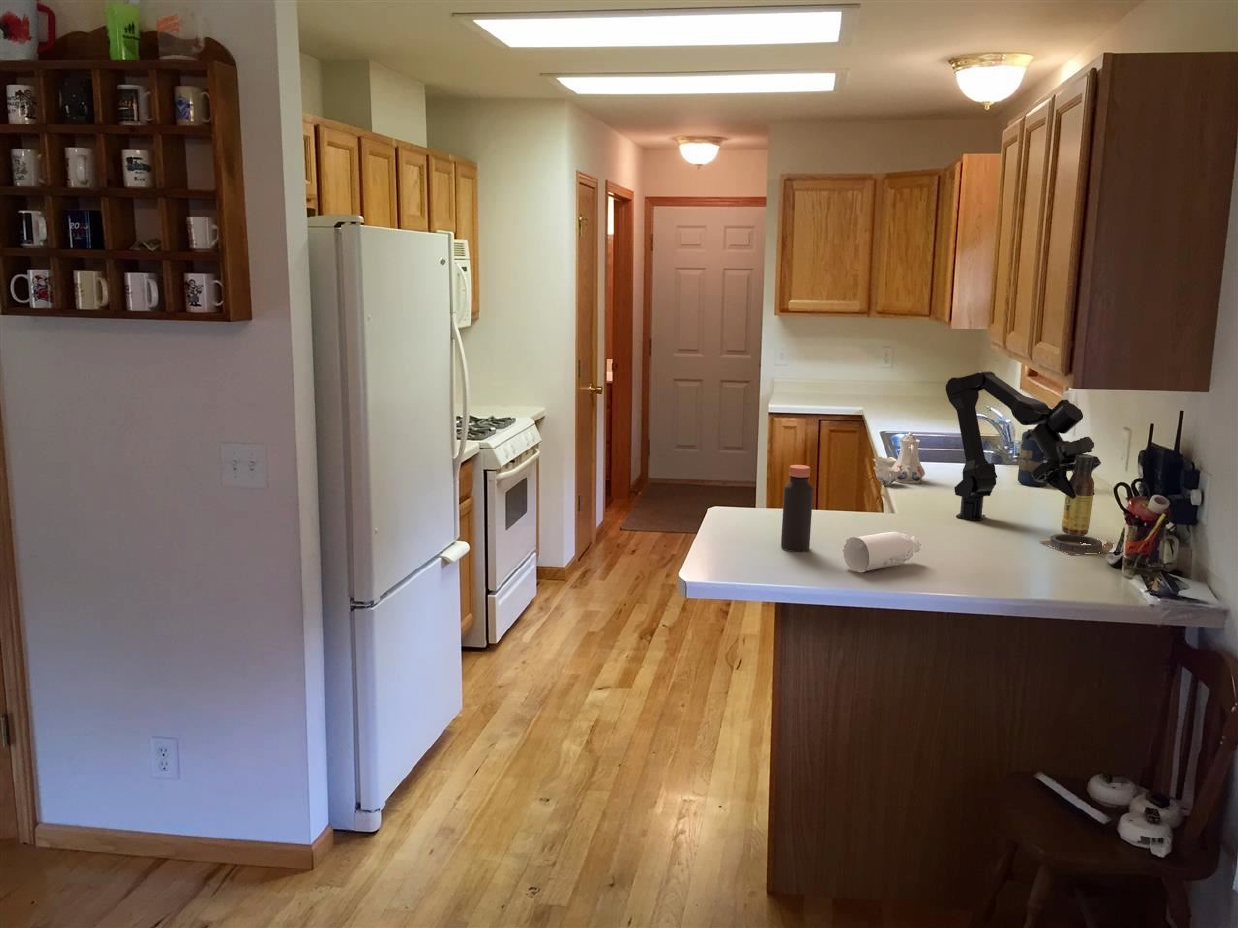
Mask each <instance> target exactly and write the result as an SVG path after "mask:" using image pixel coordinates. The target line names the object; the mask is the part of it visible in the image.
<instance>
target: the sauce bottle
mask: <svg viewBox="0 0 1238 928" xmlns="http://www.w3.org/2000/svg"><path fill="white" fill-rule="evenodd" d="M1093 456H1094V455H1091V454H1089V453H1083V454H1076V456H1075V469H1074V472H1073V473H1072V474H1071V476H1070V478H1069V479H1068V480H1069V482H1070V484H1071V486H1072V488H1073V490H1074V492H1075V495H1076V497H1075V498H1074V499H1072V498H1070V497H1069V496H1067V495H1066V494H1065V495H1064V496H1065V497H1064V505H1063V511H1062V513H1063V515H1062V519H1061V521H1062V522H1061V531H1062V532H1063V533H1064V534H1070V535H1078V536H1086V535H1088V533H1089V529H1090V523H1091V516H1092V511H1093V510H1092V509H1093V501H1094V496H1093V491H1094V492H1095V489H1094V488H1095V481H1094V478H1093V477H1092V473H1091V466H1092V463H1093ZM1090 473H1091V475H1090Z"/></svg>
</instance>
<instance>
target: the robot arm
mask: <svg viewBox="0 0 1238 928" xmlns="http://www.w3.org/2000/svg"><path fill="white" fill-rule="evenodd" d="M981 391H986V392H987V393H988V394H990V395H991V396H992V397H993V398H995V399H996V400H998V401H999V402H1000V403H1002V404H1003V405H1004V406H1006V407H1007V408H1008V409H1009V410H1010V412H1011V415H1012V417H1013V418H1014V419H1015V420H1016V421H1017V422H1018V423H1020V425H1022V426H1035V425H1036V426H1035V427H1034V428H1030V429H1027V431H1028V432H1027V435H1026V438H1025V439H1026V440H1035V441H1036V442H1037V444H1038V446H1039V447H1040V449H1041V451H1042V453H1041V454H1040V456H1041V458H1046V459H1047V460H1043V461H1042V462H1041V463H1040V464H1039V465H1037V466H1036V467H1035V468H1034V469H1033V470H1032V476H1033V478H1034V480H1035V481H1042V480H1044V478H1045V476H1044V474H1046V477H1047V478H1046V479H1045V480H1044V483H1048V484H1047V485H1049V486H1051V487H1053V488H1054V489H1056V490H1058V491H1060V492H1061V493H1063V494H1064V495H1065V496H1066V495H1067V496H1069V497H1070V498H1072V499H1074V498H1075V497H1076V495H1075V492H1074V490H1073V488H1072V486H1071V484H1070V482H1069V480H1070V479H1069V478H1068V477H1067V476H1068V475H1067V474H1068V473H1067V472H1071V473H1072V474H1073V472H1074V469H1075V456H1076V454H1088V453H1092V452H1093V450H1092V449H1094V448H1095V442H1094V441H1093V440H1092V438H1091V437H1090V436H1083V437H1080V438H1079V439H1077V440H1073V441H1069V440H1064V439H1063V437H1062V435H1061V434H1063V435H1064V434H1067V433H1069V431H1070V430H1072V429H1073V428H1074V427H1075V426H1076V425H1078V423H1080V422H1081V421H1082V420H1083V418H1084V413H1083V411H1082V410H1081V408H1078V407H1077V406H1076V405H1075V404H1073V403H1071V402H1070V401H1069V399H1061V400H1060V401H1058V403H1057V404H1056V405H1055V406H1054V407H1053V408H1051V407H1049V405H1048V404H1046V403H1045V402H1043V401H1040V400H1038V399H1036V398H1034V397H1029V396H1026V395H1023V394H1022V393H1021V392H1019V391H1018V390H1017V389H1015V388H1014V387H1012V386H1011V385H1010V384H1008V383H1006V382H1005V381H1004V380H1002V379H1001V378H1000V377H998V376H997V375H996V374H995V373H994V372H993V371H990V370H989V371H978V372H975V373H973V374H969V375H965V376H957V377H956V376H955V377H951V378H949V380H948V381H947V383H946V384H945V392H946V395H947V399H948V402H949V403H950V405H951V406H953V408H954V409H955V411H956V415H957V420H958V425H959V430H960V431H959V432H960V435H961V443H962V447H963V452H964V458H965V463H964V466H963V469H962V480H961V481H960V482H959V483H958V484H956V485H955V486H954V489H953V491H954V494H955V496H956V497H957V496H958V497H961V500H960V509H959V510H960V511H959V512H960V513H958V514H956V515H955V518H957V519H958V518H959V519H965V520H971V521H977V522H978V521H981V520H983V519H984V518H986V516H987V515H986V514H983V508H984V507H983V506H984V497H991V495H992V492H993V489H994V488H995V486H996V485H997V478H998V475H997V473H996V466H995V463H993V462H989V461H988V460H987V459H986V456H985V453H984V447H983V441H982V438H981V431H980V425H979V420H978V415H977V409H976V406H977V404H978V403H977V402H978V400H979V399H980V398H979V396H980V392H981ZM1092 456H1093V463H1092V466H1091V473H1090V475H1091V476H1092V473H1093V471H1094V470H1095V469H1096V468H1098V467H1100V465H1101V464H1102V462H1101V460H1100V459H1099V457H1098V456H1097V455H1096V456H1095V455H1092ZM1094 496H1095V490H1094V491H1093V497H1094Z"/></svg>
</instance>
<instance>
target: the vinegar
mask: <svg viewBox="0 0 1238 928" xmlns="http://www.w3.org/2000/svg"><path fill="white" fill-rule="evenodd" d="M788 467H789V468H788V469H789V470H788V475H789V476H788V477H789V481H788V482H787V483H786V484H785V485H784V488H783V502H782V503H783V504H782V520H781V521H782V523H781V537H780V539H781V540H780V541H781V542H780V547H781V548H782V549H783V550H785V549H786V551H789V550H790V552H806V551H808V550H809V549H810V546H811V528H812V512H813V494H814V488H813V486H812V485H811V484H810V482H809V479H810V475H811V467H810V466H808V465H803V464H792V465H790V466H788Z"/></svg>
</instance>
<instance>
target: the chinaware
mask: <svg viewBox="0 0 1238 928" xmlns="http://www.w3.org/2000/svg"><path fill="white" fill-rule="evenodd" d="M899 441H900V442H899V443H900V447H899V448H900V449H899V453H898V457H897V459H896V458H895V457H891V456H888V457H886V458H885V457H882V456H877V457H875V458H872V460H873V461H874V464H875V466H873V470H874V471H875V476H876V478H877V480H878V481H879V482H880V485H882V486H887V487H888V486H892V485H893V484H892V483H894V482H896V483H900V484H901V483H902V484H919V483H921V479H923V478H924V476H925V475H926V472H925V469H924V468H923V466H922V464H921V461H920V458H919V444H920V442H921V440H920V439H917V437H916V436H915V435H913V433H912V431H909V432H908V433H907V434H906V435H905V436H904V437H903V438H899Z"/></svg>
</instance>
